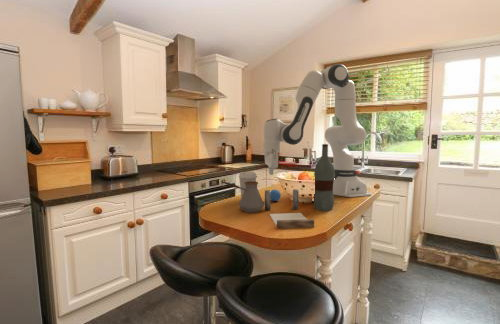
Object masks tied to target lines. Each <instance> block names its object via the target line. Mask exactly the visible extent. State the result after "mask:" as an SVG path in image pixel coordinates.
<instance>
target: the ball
mask: <svg viewBox="0 0 500 324" xmlns="http://www.w3.org/2000/svg"><path fill="white" fill-rule="evenodd" d="M270 191H271V196H270V201H271V202H277V201H279V200H280V199H281V198H282V197H281V191H279V190H278V189H271V190H270Z"/></svg>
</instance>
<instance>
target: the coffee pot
mask: <svg viewBox="0 0 500 324" xmlns="http://www.w3.org/2000/svg"><path fill="white" fill-rule="evenodd" d="M224 184H225V185H224ZM244 184H245V185H246V188H242V187H240V185H237V184H234V183H230V182H227V181H224V182H223V183H222V184H221V186H222V187H226V186H230V187H232V188H236V189H240V190H241V189H242V190H244V193H243V195H242V197H241V196H240V200H239V203H238V206H239V208H240V209H241V210H242V211H243V212H245V213H258V212H260V210H262V209H263V208H264V207H265V202H264V201H263V199H262V196H261V194H260V192H259V189H258V184H259V182H258V181H256V182H253V181H249V182H245V183H244Z"/></svg>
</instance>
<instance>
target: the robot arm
mask: <svg viewBox="0 0 500 324" xmlns="http://www.w3.org/2000/svg"><path fill="white" fill-rule="evenodd" d="M322 89H323V90H328V89H329V90H330V89H333V91H334V115H335V117H337V118H338V120H339V121H340V122H339V123H340V125H333V126H330V127H327V128H326V130H325V132H324V139H325V141H326V142H327V144H328V145H329V146H330V148H331V152H332V158H333V162H332V164H333V166H334V172H335V175H334V178H335V180H334V183H333V196H340V197H346V198H353V197H354V198H355V197H366V196H371V195H372V193H371V192H370V191H368V187H367V184H366V183H365V182H364V180H362V179H361V178H360V177H358V175H360V174H361V171H360V170H355V169H354V167H355V163H354V162H355V155H354V154H353V153H352V152H351V151H350V150H349V147H348V146H357V145H361V144H363V143H364V142H365V141H366V139H367V132H366V129H365V127H363V126H362V125H361V124H360V122H359V120H358V118H357V109H356V107H357V106H356V101H357V96H356V95H357V93H356V86H355V83H354V81H353V80H350V75H349V70H348V68H347V67H346V66H345V65H344V64H340V63H337V64H333V65H330V66H328V67H326V68H324V69H323V70H321V71H318V70H311V71H308V73H307V74H306V75H305V77H304V78H303V80H302V81H301V84H300V85H299V87H298V90H297V92H296V94H295V95H296V96H295V101H296V103H297V105H298V106H297V110H296V111H295V112H296V113H295V115H294V117H293V118H292V119H293V120H292V121H291V122H290V123H289V124H287V123H285V122H284V121H282V120H281V119H279V118H272V119H271V118H270V119H268V120H266V121H265V122H264V124H263V125H264V126H263V138H264V139H263V140H264V141H263V148H262V151H263V153H264V164H265V165H267V167H268V174H269V175H271V176H273V175H274V169H278V167H279V154H278V153H280V151H281V142H283V143H284V144H289V145H294V146H295V145H297V144H299V143H300V142H301V141H302V140H303V137H304V129H305V126H306V122H307V120H308V117H309V115H310V113H311V110H312V108H313V106H314V104H315V102H316V100H317V99H318V97H319V94H320V92H321V91H322Z"/></svg>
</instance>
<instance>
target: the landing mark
mask: <svg viewBox="0 0 500 324" xmlns="http://www.w3.org/2000/svg"><path fill="white" fill-rule="evenodd" d="M269 216H270V218H271V219H272V221H273V223H274V225H275V226H277V220H300V219H307V217H305V215H303V214H302V212H292V213H291V212H290V213H288V212H287V213H269Z"/></svg>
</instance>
